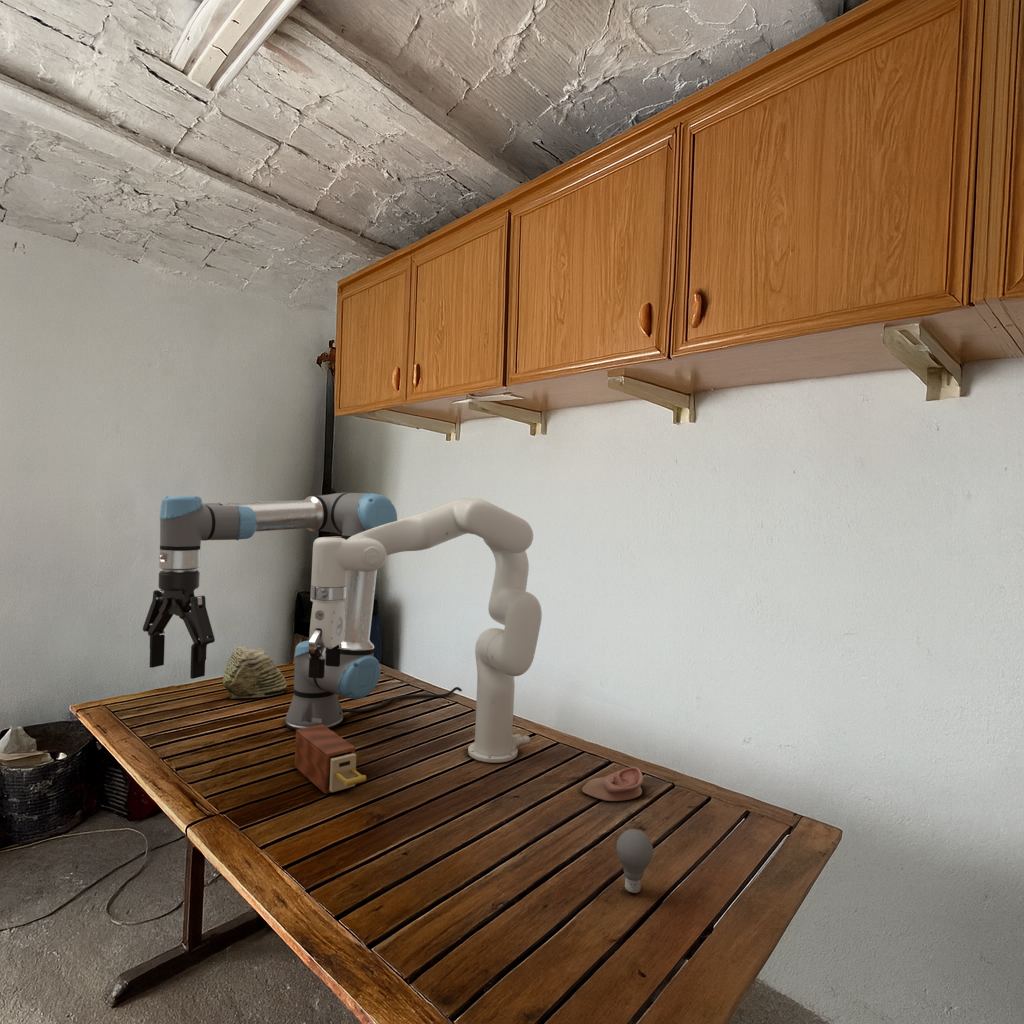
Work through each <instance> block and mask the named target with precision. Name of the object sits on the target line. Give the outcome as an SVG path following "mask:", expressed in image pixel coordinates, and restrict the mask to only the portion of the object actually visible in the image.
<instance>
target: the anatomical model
mask: <svg viewBox="0 0 1024 1024" xmlns="http://www.w3.org/2000/svg"><path fill="white" fill-rule="evenodd" d="M643 782H644V775H643V773H642V771H641V770H640V769H639V768H638V767H637V766H630V767H625V768H623V769H620V770H617V771H615V772H613V773H610V774H608V775H605V776H604V777H596V778H595V777H594V778H592V779H590V780H588V781H587V782H586V783H585V784H584V785H583V786H582V788H581V792H582V793H583V794H585V795H587V796H590V797H593V798H595V799H598V800H602V801H606V802H619V801H621V802H622V801H628V800H633V799H635V798H638V797H640V796H641V795H642V793H643V789H642V787H641V786H642V784H643Z"/></svg>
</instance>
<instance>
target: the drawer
mask: <svg viewBox="0 0 1024 1024" xmlns="http://www.w3.org/2000/svg"><path fill="white" fill-rule="evenodd" d="M366 781H367V775H366V774H361V773H360V772H359V771H357V754H356V752H355V753H352V754H348V752H347V753H343V754H339V755H335V756H331V757H330V762H329V786H330V789H329V790H330V791H331V792H330V793H335V792H338V791H342V790H345V789H349V788H352V787H355V786H356V785H357V784H360V783H364V782H366Z"/></svg>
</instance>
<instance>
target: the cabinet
mask: <svg viewBox="0 0 1024 1024" xmlns="http://www.w3.org/2000/svg"><path fill="white" fill-rule="evenodd" d="M347 752H348V754H352V753H355V754H356V746H354V745H353V744H351V743H350V742H348V741H347V740H346V739H344V738H342V737H341V736H340V735H338V734H337V733H336V732H334V730H332V729H329V728H327V727H326V726H324V725H323V724H322V725H317V726H313V727H308V728H303V729H298V730H296V731H295V747H294V768H296V769H297V770H298V771H299V772H300V773H302V775H303V776H304V777H306V778H307V779H308V780H309V781H310V782H311V783H312V784H313V785H314V786H315V787H317V789H319V790H320V791H321V792H322V793H323V794H324V795H326V794H330V793H332V792H331V791H330V790H329V789H330V786H329V762H330V757H331V756H335V755H339V754H343V753H347Z"/></svg>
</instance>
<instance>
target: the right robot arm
mask: <svg viewBox="0 0 1024 1024" xmlns="http://www.w3.org/2000/svg"><path fill="white" fill-rule="evenodd" d="M467 534H469V535H475V536H477V537H479V538H481V539H482V540H483V542H484V544H486V546H487V547H488V548H489V549H490V551H491V552H492V554H493V557H494V561H495V562H494V563H495V567H494V568H495V570H494V577H493V581H492V588H491V592H490V597H489V602H488V607H487V608H488V614H489V617H490V618H491V619H492V620H493V621H495V622H496V623H499V624H501V625H503V626H504V628H499V627H491V628H487V629H485V630H484V631H482V632H481V633H480V634H479V636H478V638H477V640H476V643H475V647H474V648H475V651H474V652H475V653H474V654H475V663H476V674H477V675H476V698H475V699H476V700H475V702H476V703H475V725H474V742H472V743H470V745H469V746H468V747H467V748H468V749H467V753H468V755H469V756H470V757H471V758H472V759H474V760H476V761H479V762H483V763H488V764H489V763H490V764H501V763H507V762H509V761H512V760H514V759H516V758H517V756H518V754H519V753H518V752H519V749H518V747H519V746H520V745H528V744H530V743H531V738H530V736H529V735H523V736H522V734H520V733H517V734H514V733H513V732H514V731H513V728H514V707H515V690H516V689H515V686H516V683H515V677H519V676H522V675H523V674H525V673H527V671H529V669H530V668H531V666H532V663H533V662H534V658H535V655H536V651H537V645H538V639H539V635H540V630H541V624H542V619H543V618H542V617H543V612H542V606H541V604H540V603H541V602H540V600H539V599H538V598H537V597H536V596H535V595H534V594H532V593H531V592H528V591H527V585H528V578H529V571H530V569H529V568H530V565H529V558H528V555H527V550H528V549H529V548H530V547H531V545H532V543H533V541H534V531H533V528H532V526H531V525H530V523H529V522H527V520H525V519H523V518H521V517H520V516H518V515H516V514H513V513H512V512H509V511H507V510H505V509H504V508H501V507H499V506H497V505H495V504H494V503H491V502H489V501H487V500H484V499H482V498H470V497H469V498H468V497H464V498H459V499H455V500H452V501H449V502H447V503H445V504H441V505H439V506H436V507H433V508H431V509H429V510H425V511H423V512H420V513H419V512H418V513H417V514H414V515H410V516H407V517H404V518H401V519H397V521H394V522H391V523H387V524H384V525H381V526H378V527H375V528H372V529H369V530H366V531H364V532H361V533H358V534H356V535H353V536H351V537H350V538H348V539H347V540H346V539H343V538H342V537H335V536H322V537H321V536H320V537H317V538H315V539H314V541H313V544H312V560H311V578H310V580H311V581H310V600H309V601H310V602H312V606H311V607H312V608H311V613H310V624H309V637H308V640H309V677H310V678H321V679H322V678H323V677H324V671H325V665H326V666H334V667H338V666H340V653H341V649H338V648H341V643H342V642H343V641H344V639H345V601H346V590H347V570H355V571H362V572H372V571H375V570H377V571H378V570H379V569H381V568H382V567H383V566H384V564H385V563H386V561H387V556H390V555H394V554H398V553H403V552H419V551H424V550H428V549H431V548H434V547H436V546H438V545H441V544H443V543H446V542H448V541H450V540H453V539H456V538H459V537H461V536H463V535H467ZM320 644H322V645H320ZM327 647H328V648H327ZM319 649H321V652H319ZM325 651H326V661H325V659H323V658H324V654H325Z"/></svg>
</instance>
